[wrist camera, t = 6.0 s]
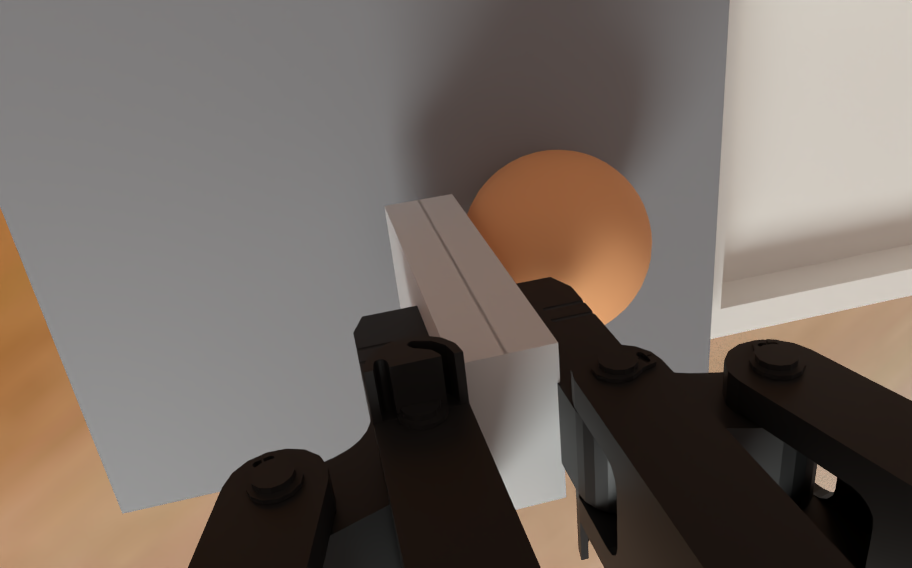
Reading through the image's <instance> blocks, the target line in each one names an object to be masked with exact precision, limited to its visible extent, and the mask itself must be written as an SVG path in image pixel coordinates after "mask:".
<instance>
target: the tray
mask: <svg viewBox="0 0 912 568" xmlns="http://www.w3.org/2000/svg"><path fill="white" fill-rule="evenodd" d="M911 295H912V0H730V4H729V21H728V39H727V56H726V74H725V91H724V108H723V126H722V143H721V161H720V178H719V196H718V213H717V231H716V248H715V266H714V283H713V301H712V318H711V336H710V339H713V338H718V337H722V336H727V335H731V334H736V333H741V332H745V331H750V330H754V329H759V328H764V327H768V326H773V325H778V324H782V323H787V322H791V321H796V320H801V319H805V318H810V317H814V316H819V315H824V314H828V313H833V312H838V311H842V310H847V309H851V308H856V307H861V306H865V305H870V304H874V303H879V302H884V301H888V300H893V299H897V298H902V297H907V296H911Z"/></svg>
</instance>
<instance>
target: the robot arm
mask: <svg viewBox="0 0 912 568" xmlns="http://www.w3.org/2000/svg"><path fill="white" fill-rule="evenodd" d="M384 207H385V213H386V220H387V226H388V232H389V239H390V245H391V251H392V258H393V264H394V270H395V277H396V283H397V289H398V296H399V302H400V308H401V309H397V310H392V311H387V312H382V313H377V314H372V315H367V316H362V317H361V319H360V321H359V323H358V325H357V327H356V329H355V330H354V332H353V334H354V339H355V345H356V350H357V355H358V360H359V365H360V371H361V376H362V381H363V386H364V391H365V396H366V402H367V406H368V411H369V416H370V424H369V427H368V429H367V431H366V433H365V434H364V435H363V437H362V438H361V439H360V440H359V441H358V442H357V443H356V444H354V445H353V446H352V447H351V448H350V449H348V450H346V451H345V452H343V453H341V454H339V455H338V456H336V457H334V458H331V459H329V460H327V461H325V462H324V461H323V459H322V458H321V457H320V455H317V454H315V453H312V452H310V451H308V450H305V449H282V450H277V451H272V452H267V453H264V454H262V455H260V456H258V457H255V458H253V459H251V460H249V461H247V462H246V463H244V464H243V465H242V466H241V467H239V468H238V469H237V470H235V471H234V472H233V473H232V474H231V475H230V477H229V478H228V480H227V481H226V483H225V484H224V485H223V487H222V489H221V491H220V494H219V496H218V498H217V501H216V503H215V505H214V508H213V510H212V512H211V515H210V517H209V519H208V522H207V524H206V526H205V529H204V531H203V533H202V536H201V538H200V541H199V543H198V545H197V548H196V550H195V552H194V555H193V557H192V559H191V562H190V564H189V566H188V568H540V565H539V563H538V561H537V558H536V556H535V554H534V551H533V549H532V547H531V544H530V542H529V540H528V538H527V535H526V533H525V531H524V528H523V526H522V524H521V521H520V519H519V517H518V514H517V512H516V510H517V509H521V508H525V507H529V506H533V505H537V504H541V503H545V502H549V501H553V500H557V499H561V498H565V497H566V484H565V470H566V472H567V473H568V475H569V477H570V479H571V481H572V482H573V484H574V486H575V488H576V500H577V523H578V546H579V552H580V556H581V560H584V559H588V558H589V556H588V541H589V540H590V542H591V543H592V545H593V547H594V549H595V551H596V553H597V555H598V557H599V559H600V560H601V562H602V564H603V566H604V568H912V401H911V400H909V399H907V398H905V397H903V396H901V395H899V394H897V393H895V392H893V391H891V390H889V389H887V388H885V387H883V386H881V385H879V384H877V383H875V382H873V381H871V380H869V379H868V378H866V377H864V376H862V375H860V374H858V373H856V372H854V371H852V370H850V369H848V368H846V367H844V366H842V365H840V364H838V363H836V362H834V361H832V360H830V359H828V358H826V357H824V356H823V355H821V354H819V353H817V352H815V351H813V350H811V349H808V348H805V347H803V346H800V345H797V344H795V343H790V342H784V341H779V340H771V339H767V340H754V341H750V342H746V343H742V344H739V345H737V346H736V347H734V348H733V349H731V350H730V351H728V353H727V356H726V358H725V360H724V372H721V373H676V372H673V371H672V370H671V369H670V368H669V366H668V365H667V364H666V363H665V362H664V361H663V360H662V359H661V358H659V357H658V356H656V355H655V354H654V353H652V352H651V351H648V350H645V349H642V348H639V347H636V346H629V345H621V343H620V342H619V341H618V340H617V339H616V338H615V336H614V335H613V334H612V333H611V332H610V331H609V330H608V328H607V327H606V326H605V325H604V324H603V323H602V321H601V320H600V319H599V318H598V317H597V316H596V315H595V314H593V312H592V310H591V309H590V308H589V306H588V305H587V304H586V303H583V300H582V298H581V297H580V296H579V295H578V294H577V293H576V291H575V290H574V289H573V288H572V287H571V286H569V285H567V284H565V283H563V282H560V281H558V280H556V279H554V278H552V277H547V278H542V279H537V280H532V281H527V282H522V283H517V284H516V283H515V282H514V280H513V279H512V277H511V276H510V275H509V273H508V272H507V270H506V269H505V267H504V266H503V265H502V263H501V262H500V260H499V259H498V258H497V256H496V255H495V253H494V252H493V251H492V249H491V248H490V246H489V245H488V244H487V242H486V241H485V239H484V238H483V237H482V235H481V234H480V232H479V231H478V230H477V228H476V227H475V225H474V224H473V223H472V221H471V220H470V218H469V217H468V216H467V214H466V213H465V211H464V210H463V209H462V207H461V206H460V204H459V203H458V202H457V200H456V199H455V197H454V196H453V195H452V194H449V195H444V196H438V197H432V198H427V199H421V200H416V201H410V202H404V203H399V204H393V205H387V206H384ZM817 464H818V465H820V466H821V467H823V468H824V469H826V470H827V471H829V472H830V473H832V474H833V475H835V476H836V477H837V483H836V489H835V491H834V492H829V491H827V490H825V489H823V488H822V487H820V486H819V485H817V484H816V483H815V476H816V469H817Z"/></svg>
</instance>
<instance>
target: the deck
mask: <svg viewBox="0 0 912 568" xmlns="http://www.w3.org/2000/svg"><path fill="white" fill-rule="evenodd" d="M729 4H730V0H0V207H1V210H2V212H3V215H4V217H5V220H6V222H7V225H8V227H9V230H10V232H11V235H12V237H13V240H14V242H15V245H16V247H17V250H18V252H19V255H20V257H21V260H22V263H23V265H24V268H25V270H26V273H27V275H28V278H29V280H30V283H31V285H32V288H33V290H34V293H35V295H36V298H37V300H38V303H39V305H40V308H41V310H42V313H43V315H44V318H45V320H46V323H47V325H48V328H49V330H50V333H51V335H52V338H53V340H54V343H55V345H56V348H57V350H58V353H59V355H60V358H61V360H62V363H63V365H64V368H65V370H66V373H67V375H68V378H69V380H70V383H71V385H72V388H73V390H74V393H75V396H76V398H77V401H78V403H79V406H80V408H81V411H82V413H83V416H84V418H85V421H86V423H87V426H88V428H89V431H90V433H91V436H92V438H93V441H94V443H95V446H96V448H97V451H98V453H99V456H100V458H101V461H102V463H103V466H104V468H105V471H106V473H107V476H108V478H109V481H110V483H111V486H112V488H113V491H114V493H115V496H116V498H117V501H118V503H119V506H120V508H121V511H122V513H127V512H132V511H136V510H141V509H145V508H150V507H154V506H158V505H163V504H167V503H172V502H176V501H180V500H185V499H189V498H194V497H198V496H203V495H207V494H211V493H216V492H220V491H221V489H222V487H223V485H224V484H225V483H226V481H227V480H228V478H229V477H230V475H231V474H232V473H233V472H234V471H235V470H237V469H238V468H239V467H241V466H242V465H243V464H244V463H246V462H247V461H249V460H251V459H253V458H255V457H258V456H260V455H262V454H264V453H267V452H272V451H277V450H282V449H305V450H308V451H310V452H312V453H315V454H317V455H320V457H321V458H322V459H323V461H324V462H325V461H327V460H329V459H331V458H334V457H336V456H338V455H339V454H341V453H343V452H345V451H346V450H348V449H350V448H351V447H352V446H353V445H354V444H356V443H357V442H358V441H359V440H360V439H361V438H362V437H363V435H364V434H365V433H366V431H367V429H368V427H369V424H370V416H369V411H368V406H367V402H366V396H365V391H364V386H363V381H362V376H361V371H360V365H359V360H358V355H357V350H356V345H355V339H354V334H353V332H354V330H355V329H356V327H357V325H358V323H359V321H360V319H361V317H362V316H367V315H372V314H377V313H382V312H387V311H392V310H397V309H401V308H400V302H399V296H398V289H397V283H396V277H395V270H394V264H393V258H392V251H391V245H390V239H389V232H388V226H387V220H386V213H385V207H384V206H387V205H393V204H399V203H404V202H410V201H416V200H421V199H427V198H432V197H438V196H444V195H449V194H452V195H453V196H454V197H455V199H456V200H457V202H458V203H459V204H460V206H461V207H462V209H463V210H464V211H465V213H466V214H468V211H469V208H470V206H471V204H472V202H473V200H474V199H475V197H476V195H477V193H478V191H479V190H480V189H481V188H482V186H483V185H484V184H485V183H486V182H487V180H488V179H489V178H490V177H491V176H493V175H494V174H495V173H496V172H497V171H498V170H500V169H501V168H502V167H504V166H505V165H507V164H508V163H510V162H512V161H514V160H516V159H518V158H520V157H522V156H525V155H528V154H532V153H535V152H540V151H545V150H569V151H576V152H581V153H585V154H588V155H590V156H593V157H596V158H598V159H600V160H602V161H604V162H606V163H607V164H609V165H610V166H612V167H613V168H615V169H616V170H617V171H618V172H619V173H621V174H622V175H623V176H624V177H625V178H626V179H627V180H628V181H629V183H630V184H631V185H632V186H633V187H634V189H635V190H636V192H637V193H638V195H639V196H640V198H641V200H642V202H643V204H644V206H645V209H646V212H647V215H648V218H649V222H650V227H651V233H652V250H651V260H650V264H649V269H648V272H647V274H646V277H645V279H644V282H643V284H642V286H641V288H640V290H639V292H638V293H637V295H636V296H635V298H634V299H633V300H632V302H631V303H630V304H629V305H628V306H627V308H626V309H625V310H624V311H622V312H621V313H620V314H619V315H618V316H617V317H616V318H614V319H613V320H612V321H610V322H609V323H607V324H606V325H605V326H606V327H607V328H608V330H609V331H610V332H611V333H612V334H613V335H614V336H615V338H616V339H617V340H618V341H619V342H620V343H621V345H629V346H636V347H639V348H642V349H645V350H648V351H651V352H652V353H654V354H655V355H656V356H658V357H659V358H661V359H662V360H663V361H664V362H665V363H666V364H667V365H668V366H669V368H670V369H671V370H672V371H673V372H676V373H708V370H709V353H710V336H711V318H712V301H713V283H714V266H715V248H716V231H717V213H718V196H719V178H720V161H721V143H722V126H723V108H724V91H725V74H726V56H727V39H728V21H729Z"/></svg>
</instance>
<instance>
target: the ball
mask: <svg viewBox="0 0 912 568" xmlns="http://www.w3.org/2000/svg"><path fill="white" fill-rule="evenodd" d="M467 216H468V217H469V218H470V220H471V221H472V223H473V224H474V225H475V227H476V228H477V230H478V231H479V232H480V234H481V235H482V237H483V238H484V239H485V241H486V242H487V244H488V245H489V246H490V248H491V249H492V251H493V252H494V253H495V255H496V256H497V258H498V259H499V260H500V262H501V263H502V265H503V266H504V267H505V269H506V270H507V272H508V273H509V275H510V276H511V277H512V279H513V280H514V282H515V283H516V284H517V283H522V282H527V281H532V280H537V279H542V278H547V277H552V278H554V279H556V280H558V281H560V282H563V283H565V284H567V285H569V286H571V287H572V288H573V289H574V290H575V291H576V293H577V294H578V295H579V296H580V297H581V298H582V300H583V303H586V304H587V305H588V306H589V308H590V309H591V310H592V312H593V314H595V315H596V316H597V317H598V318H599V319H600V320H601V321H602V323H603V324H604V325H606V324H607V323H609V322H610V321H612V320H613V319H614V318H616V317H617V316H618V315H619V314H620V313H621V312H622V311H624V310H625V309H626V308H627V306H628V305H629V304H630V303H631V302H632V300H633V299H634V298H635V296H636V295H637V293H638V292H639V290H640V288H641V286H642V284H643V282H644V279H645V277H646V274H647V272H648V269H649V264H650V260H651V250H652V233H651V227H650V222H649V218H648V215H647V212H646V209H645V206H644V204H643V202H642V200H641V198H640V196H639V195H638V193H637V192H636V190H635V189H634V187H633V186H632V185H631V184H630V183H629V181H628V180H627V179H626V178H625V177H624V176H623V175H622V174H621V173H619V172H618V171H617V170H616V169H615V168H613V167H612V166H610V165H609V164H607V163H606V162H604V161H602V160H600V159H598V158H596V157H593V156H590V155H588V154H585V153H581V152H576V151H569V150H545V151H540V152H535V153H532V154H528V155H525V156H522V157H520V158H518V159H516V160H514V161H512V162H510V163H508V164H507V165H505V166H504V167H502V168H501V169H500V170H498V171H497V172H496V173H495V174H494V175H493V176H491V177H490V178H489V179H488V180H487V182H486V183H485V184H484V185H483V186H482V188H481V189H480V190H479V191H478V193H477V195H476V197H475V199H474V200H473V202H472V204H471V206H470V208H469V211H468V214H467Z"/></svg>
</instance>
